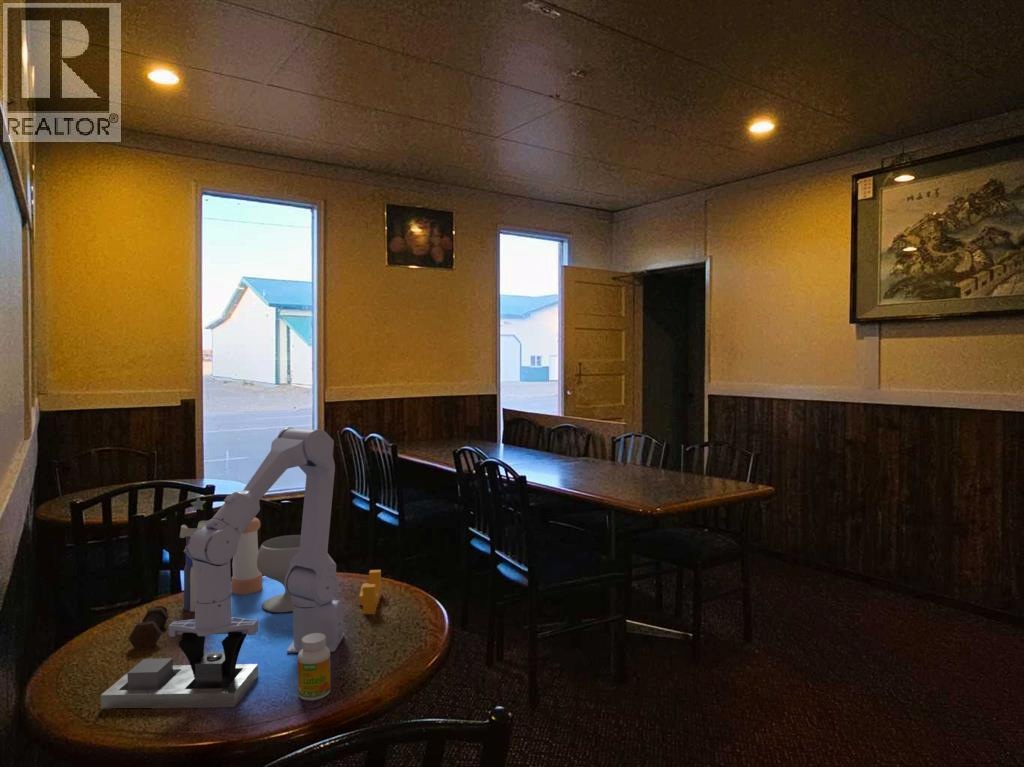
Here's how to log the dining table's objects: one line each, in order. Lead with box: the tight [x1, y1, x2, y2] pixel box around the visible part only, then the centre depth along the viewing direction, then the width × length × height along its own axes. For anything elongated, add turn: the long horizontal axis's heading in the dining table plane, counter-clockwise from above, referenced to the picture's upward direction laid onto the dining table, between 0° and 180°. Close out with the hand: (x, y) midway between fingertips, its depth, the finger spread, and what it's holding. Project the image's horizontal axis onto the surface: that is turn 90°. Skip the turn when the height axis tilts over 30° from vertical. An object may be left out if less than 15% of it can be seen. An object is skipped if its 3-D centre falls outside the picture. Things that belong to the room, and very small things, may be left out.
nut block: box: [195, 651, 234, 689], centre depth 109 cm, size 4×4×6 cm
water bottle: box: [179, 497, 209, 612], centre depth 148 cm, size 8×9×25 cm
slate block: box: [126, 657, 174, 690], centre depth 109 cm, size 5×5×5 cm
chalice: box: [257, 534, 301, 613], centre depth 149 cm, size 14×14×15 cm
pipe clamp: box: [358, 569, 382, 615], centre depth 148 cm, size 12×4×6 cm, turn 5°
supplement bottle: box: [297, 633, 332, 701], centre depth 108 cm, size 5×5×10 cm
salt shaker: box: [231, 516, 263, 596], centre depth 158 cm, size 7×7×19 cm
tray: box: [100, 663, 259, 710], centre depth 109 cm, size 22×10×2 cm, turn 91°
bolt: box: [128, 605, 170, 650], centre depth 133 cm, size 6×5×15 cm
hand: (214, 674), depth 109 cm, fingers open, 5 cm apart
